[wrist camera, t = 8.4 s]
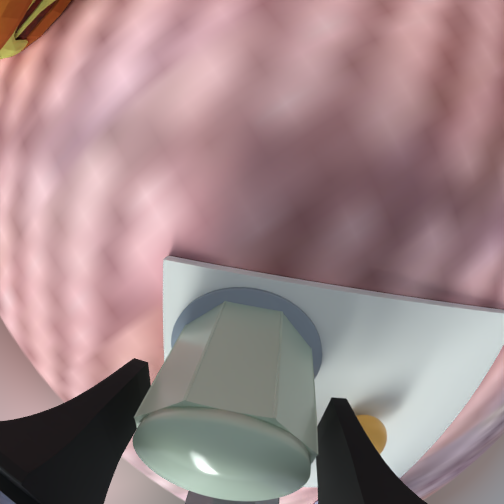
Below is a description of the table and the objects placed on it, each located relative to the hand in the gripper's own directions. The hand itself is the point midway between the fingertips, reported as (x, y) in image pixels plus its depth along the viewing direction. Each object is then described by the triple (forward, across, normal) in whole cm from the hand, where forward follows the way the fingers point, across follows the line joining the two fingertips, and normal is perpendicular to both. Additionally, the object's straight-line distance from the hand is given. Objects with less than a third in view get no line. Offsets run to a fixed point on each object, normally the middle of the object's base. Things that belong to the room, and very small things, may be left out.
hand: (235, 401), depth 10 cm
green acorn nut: (+3, 0, 0) cm, 3 cm away
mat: (+3, -6, +5) cm, 8 cm away
